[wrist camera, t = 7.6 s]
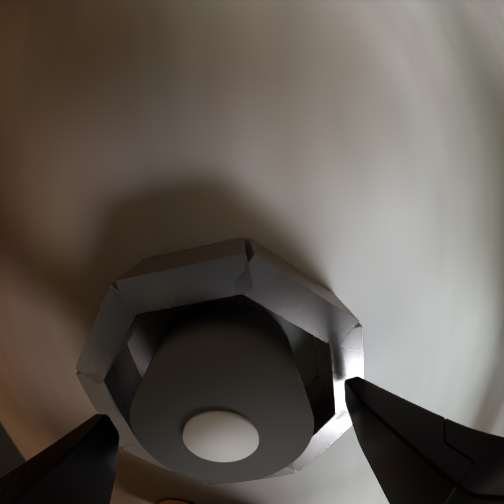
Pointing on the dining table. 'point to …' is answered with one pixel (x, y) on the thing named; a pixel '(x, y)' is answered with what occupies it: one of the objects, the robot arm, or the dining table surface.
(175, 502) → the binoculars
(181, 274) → the barrel ring
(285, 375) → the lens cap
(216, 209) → the dining table surface
